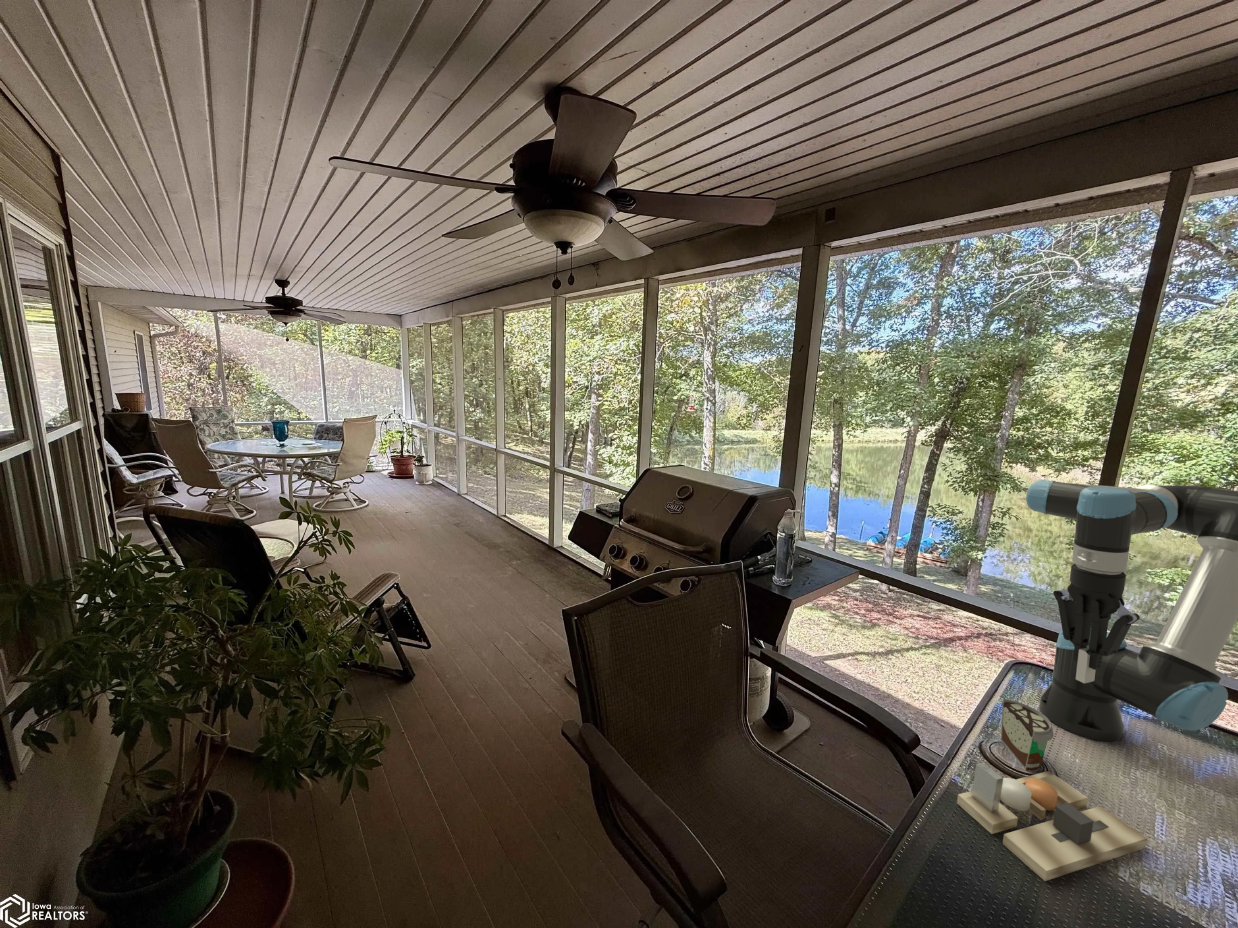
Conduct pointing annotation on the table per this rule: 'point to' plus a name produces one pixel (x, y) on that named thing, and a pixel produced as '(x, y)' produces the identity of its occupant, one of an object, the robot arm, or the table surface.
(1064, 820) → the slider knob
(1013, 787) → the white egg
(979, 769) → the toggle lever
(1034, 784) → the brown egg
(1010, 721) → the food container
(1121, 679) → the robot arm
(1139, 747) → the table surface
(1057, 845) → the beige flat pieces
